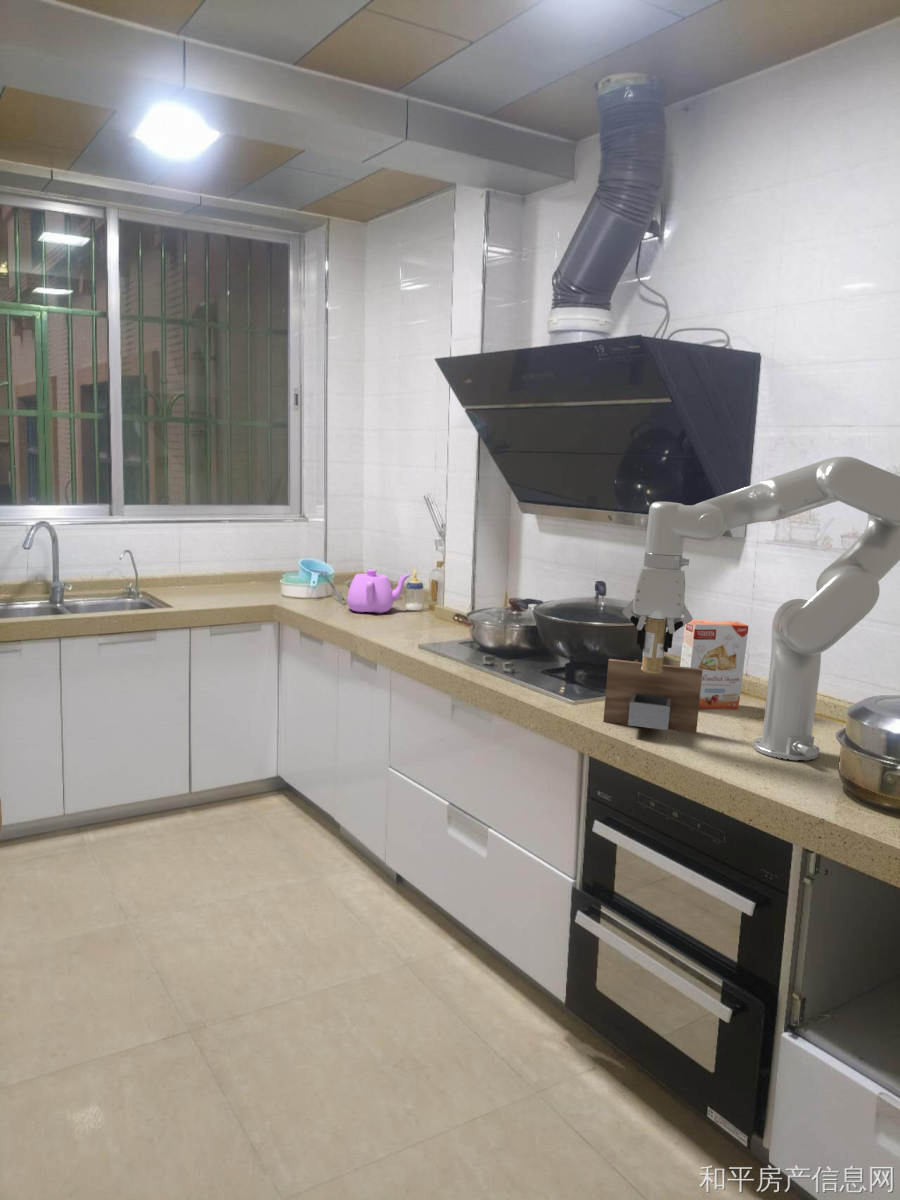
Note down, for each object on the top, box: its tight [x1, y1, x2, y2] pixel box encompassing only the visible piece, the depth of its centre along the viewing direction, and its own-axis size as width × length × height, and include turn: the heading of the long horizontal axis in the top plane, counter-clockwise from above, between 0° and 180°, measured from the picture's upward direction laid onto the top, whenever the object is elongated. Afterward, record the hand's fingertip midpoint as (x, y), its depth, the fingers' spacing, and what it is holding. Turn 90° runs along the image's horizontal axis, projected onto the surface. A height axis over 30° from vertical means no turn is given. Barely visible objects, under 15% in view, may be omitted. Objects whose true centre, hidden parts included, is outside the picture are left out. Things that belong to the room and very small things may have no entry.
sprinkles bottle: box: [641, 610, 668, 674], centre depth 189 cm, size 5×5×13 cm
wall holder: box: [603, 658, 703, 734], centre depth 195 cm, size 11×20×14 cm, turn 75°
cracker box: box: [679, 619, 749, 710], centre depth 219 cm, size 14×6×21 cm, turn 101°
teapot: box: [346, 568, 412, 615], centre depth 327 cm, size 23×21×15 cm
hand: (653, 648), depth 189 cm, fingers closed on sprinkles bottle, 4 cm apart
